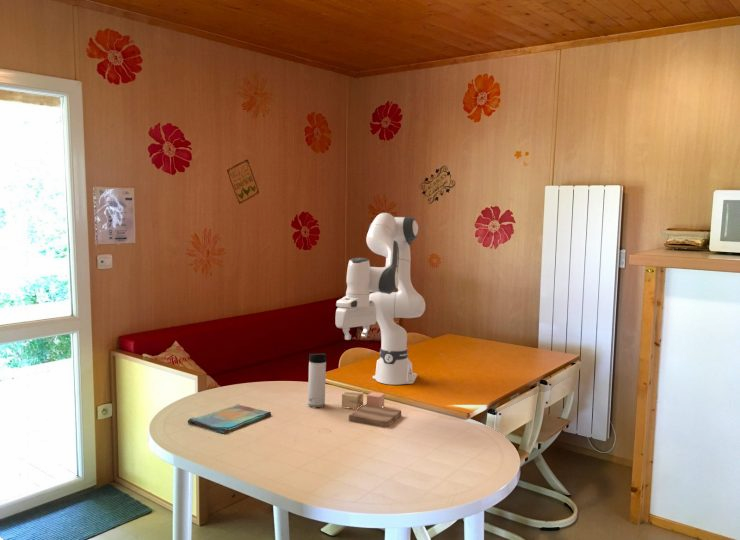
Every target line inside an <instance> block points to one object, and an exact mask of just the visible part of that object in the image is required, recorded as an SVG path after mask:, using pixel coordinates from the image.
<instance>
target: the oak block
mask: <svg viewBox="0 0 740 540" xmlns="http://www.w3.org/2000/svg"><path fill="white" fill-rule="evenodd" d="M361 405H363V406H364V392H361V391H355V390H347V391H345V392H344V393H342V394H341V407H342V406H343V407H349V408H354V409H353V410H355V409H357V408H358V407H360V406H361ZM343 407H342V408H343ZM349 408H348V409H349ZM360 408H361V407H360ZM358 409H359V408H358ZM358 409H357V410H358Z"/></svg>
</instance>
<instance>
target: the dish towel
mask: <svg viewBox="0 0 740 540" xmlns="http://www.w3.org/2000/svg"><path fill="white" fill-rule="evenodd" d="M271 416H272V413H271V411H267V410H262V409H259V408H254V407H250V406H246V405H241V404H239V403H238V404H235V405H233V406H229V407H226V408H223V409H219V410H215V411H212V412H209V413H206V414H204V415H200V416H197V417H190V418H189V419H188V420H187V424H188V425H192V426H195V427H198V428H202V429H203V430H204V429H205V430H208V431H210V432H214V433H218V434H221V435H222V434H223V435H224V434H228V433H231V432H234V431H236V430H237V429H241V428H243V427H245V426H247V425H250V424H253V423H256V422H258V421H261V420H263V419H266V418H268V417H271Z"/></svg>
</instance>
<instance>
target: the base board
mask: <svg viewBox="0 0 740 540" xmlns="http://www.w3.org/2000/svg"><path fill="white" fill-rule="evenodd" d="M399 416H401V417H402V410H401V409H394V408H388V407H383V408H382V407H376V406H370V405H367V404H363V406H362V407H360V408H358V409H357V410H355V411H354V412H352V413H350V414H349V415H348V422H350V423H351V422H353V423H356V424H357V423H358V424H364V425H369V426H374V425H375V427H380V426H381V427H382V428H385V427H387V428H388V427H390V426H391V425H392V424H393V423H394V422H395V420H396V419H397V418H398V417H399ZM399 418H400V417H399ZM399 418H398V419H399ZM398 419H397V420H398ZM397 420H396V421H397ZM393 421H394V422H393ZM392 422H393V423H392ZM391 423H392V424H391ZM390 424H391V425H390ZM381 427H380V428H381Z"/></svg>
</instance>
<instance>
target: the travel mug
mask: <svg viewBox="0 0 740 540" xmlns="http://www.w3.org/2000/svg"><path fill="white" fill-rule="evenodd" d="M308 355H309V358H308V359H309V360H308V383H307V385H308V386H307V387H308V388H307V406H308V405H309V406H311V407H310V408H312V407H321V408H323V407H322V406H324V405H325V406H326V404H325V403H326V375H327V374H326V372H327V371H326V370H327V354H326V353H320V352H319V353H309V354H308ZM309 406H308V407H309ZM325 406H324V407H325Z"/></svg>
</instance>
